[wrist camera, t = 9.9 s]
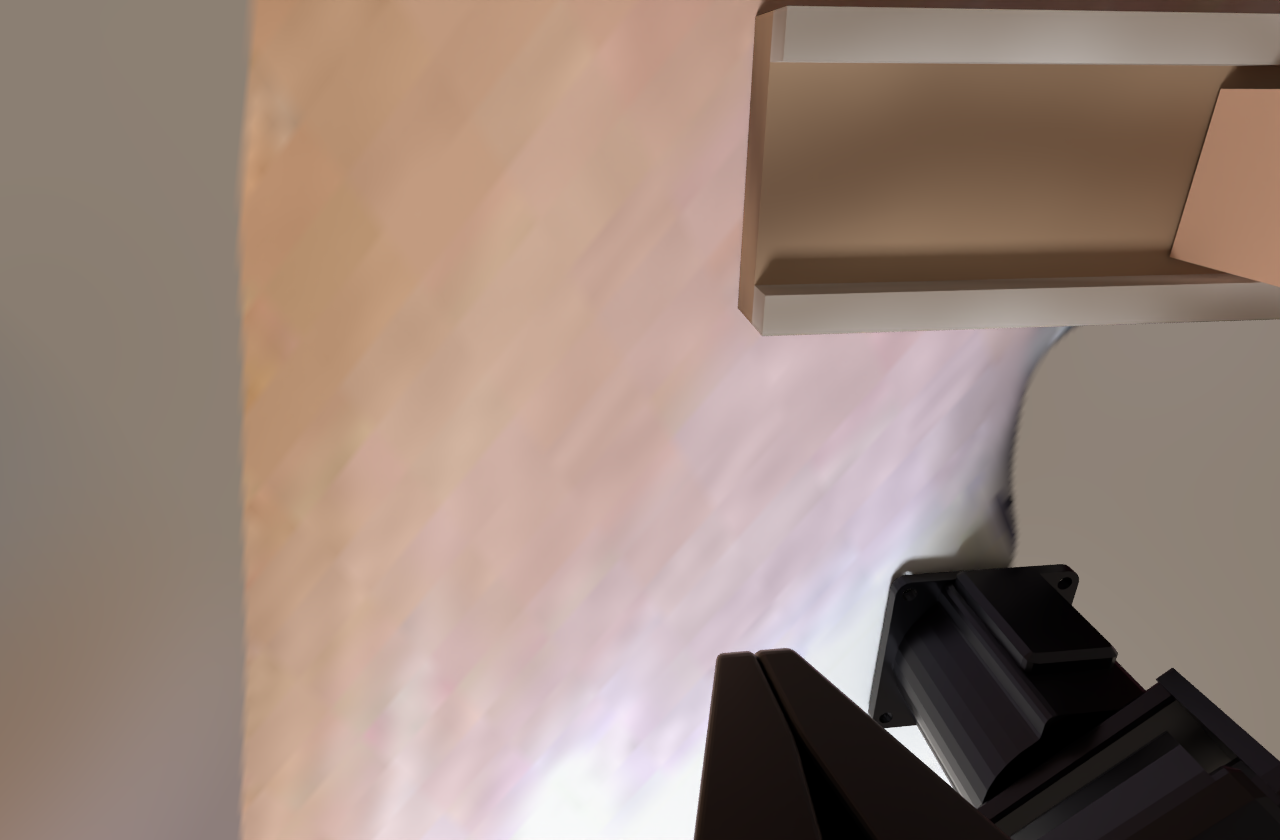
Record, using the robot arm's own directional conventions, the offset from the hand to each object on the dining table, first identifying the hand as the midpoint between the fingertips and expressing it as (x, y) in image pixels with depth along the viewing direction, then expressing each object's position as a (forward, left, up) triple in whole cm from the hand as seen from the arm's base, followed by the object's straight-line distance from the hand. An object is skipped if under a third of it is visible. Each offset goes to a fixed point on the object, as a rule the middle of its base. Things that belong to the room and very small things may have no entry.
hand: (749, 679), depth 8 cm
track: (+4, -12, -13) cm, 18 cm away
